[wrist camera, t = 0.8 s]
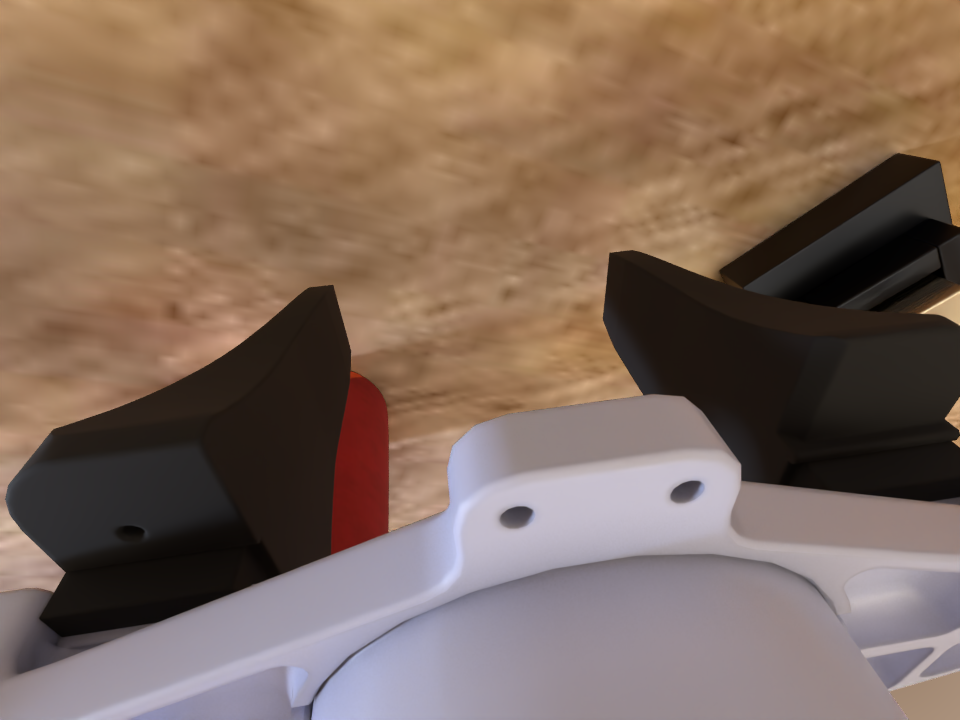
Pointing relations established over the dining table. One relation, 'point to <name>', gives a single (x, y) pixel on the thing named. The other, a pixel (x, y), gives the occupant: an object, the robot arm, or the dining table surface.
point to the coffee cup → (361, 468)
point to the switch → (926, 299)
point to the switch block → (860, 241)
